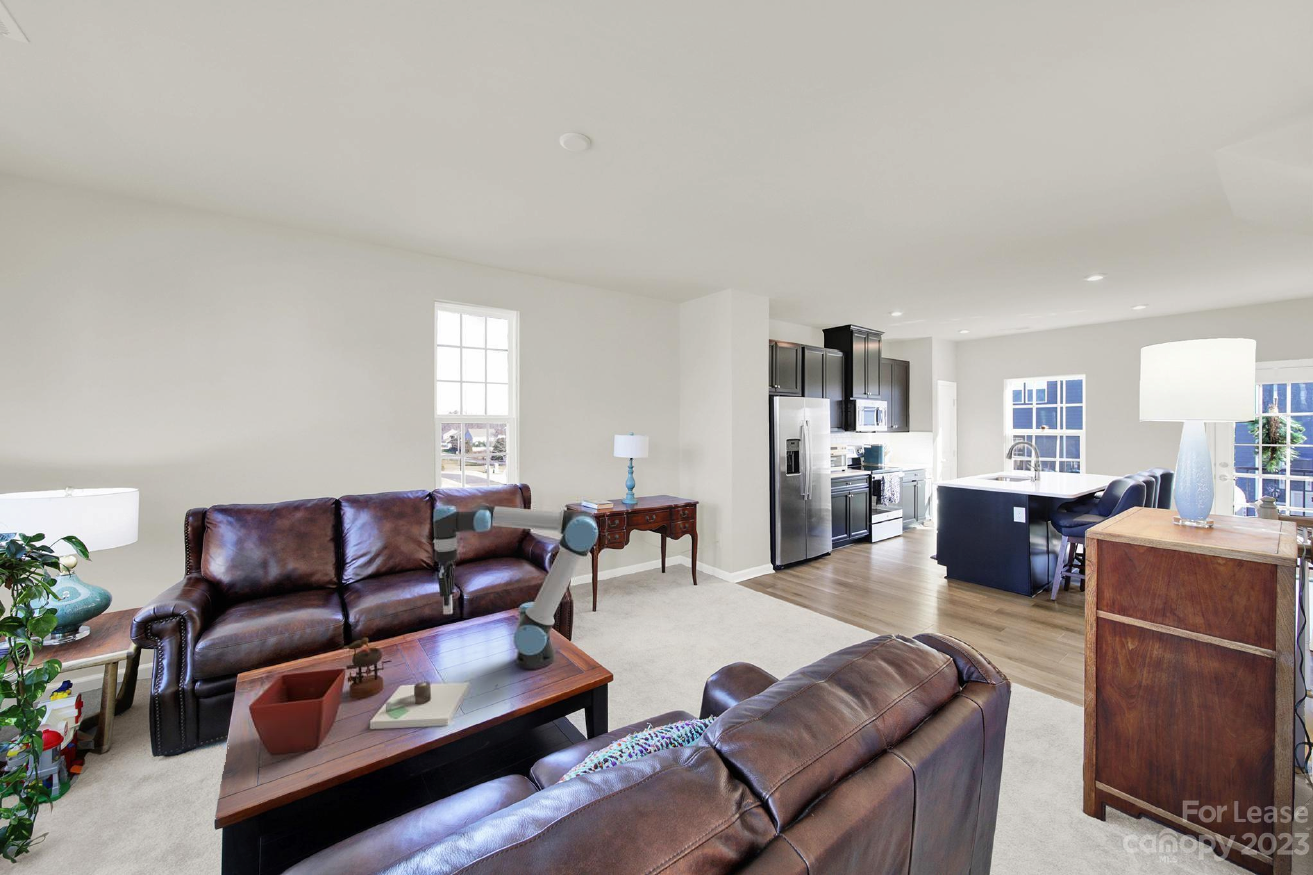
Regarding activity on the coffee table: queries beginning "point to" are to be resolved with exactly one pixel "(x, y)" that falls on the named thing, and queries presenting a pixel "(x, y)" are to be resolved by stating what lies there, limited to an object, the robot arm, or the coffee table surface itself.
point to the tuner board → (422, 707)
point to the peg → (412, 697)
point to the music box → (365, 658)
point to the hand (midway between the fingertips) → (448, 613)
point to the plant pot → (298, 710)
